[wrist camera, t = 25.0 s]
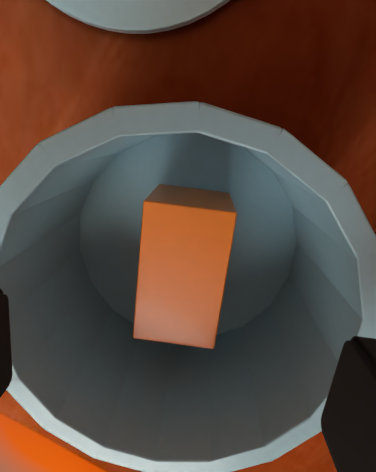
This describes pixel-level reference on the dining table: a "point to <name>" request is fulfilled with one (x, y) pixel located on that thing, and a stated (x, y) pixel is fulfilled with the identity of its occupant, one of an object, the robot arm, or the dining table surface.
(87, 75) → the dining table surface
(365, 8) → the dining table surface
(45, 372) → the pot
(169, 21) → the pot lid
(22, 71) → the dining table surface
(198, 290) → the orange rectangular block
